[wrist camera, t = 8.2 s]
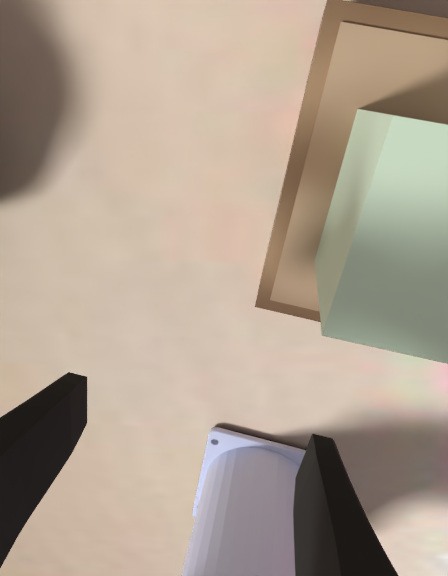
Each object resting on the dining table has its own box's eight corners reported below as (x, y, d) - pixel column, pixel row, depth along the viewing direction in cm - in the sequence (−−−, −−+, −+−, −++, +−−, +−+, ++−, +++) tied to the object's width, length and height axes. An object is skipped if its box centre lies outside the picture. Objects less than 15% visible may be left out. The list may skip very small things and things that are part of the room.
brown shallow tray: (449, 323, 20) (473, 359, 18) (260, 280, 21) (254, 308, 18) (583, 59, 15) (649, 51, 12) (323, 14, 16) (328, -4, 13)
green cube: (457, 290, 16) (534, 383, 11) (314, 260, 17) (321, 335, 12) (530, 139, 14) (678, 165, 8) (357, 108, 14) (392, 115, 9)
